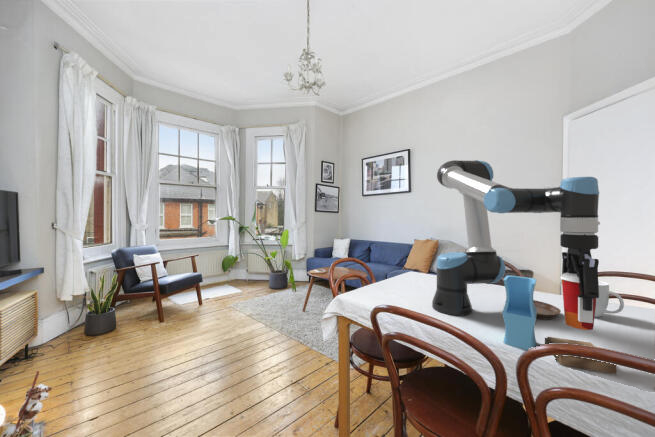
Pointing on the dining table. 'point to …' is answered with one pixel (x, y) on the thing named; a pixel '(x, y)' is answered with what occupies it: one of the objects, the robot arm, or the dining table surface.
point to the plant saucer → (545, 310)
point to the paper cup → (573, 302)
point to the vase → (519, 312)
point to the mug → (606, 300)
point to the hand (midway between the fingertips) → (578, 316)
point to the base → (580, 361)
